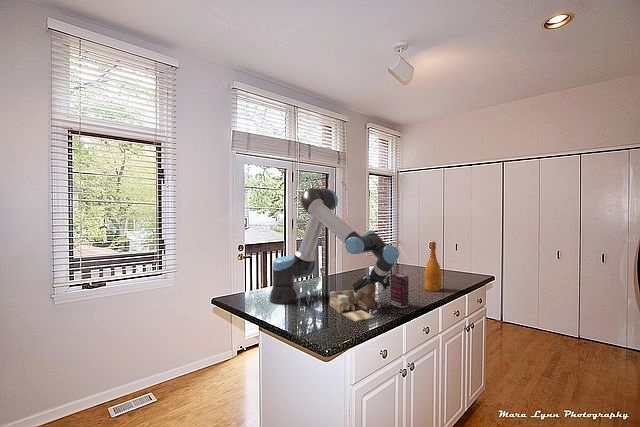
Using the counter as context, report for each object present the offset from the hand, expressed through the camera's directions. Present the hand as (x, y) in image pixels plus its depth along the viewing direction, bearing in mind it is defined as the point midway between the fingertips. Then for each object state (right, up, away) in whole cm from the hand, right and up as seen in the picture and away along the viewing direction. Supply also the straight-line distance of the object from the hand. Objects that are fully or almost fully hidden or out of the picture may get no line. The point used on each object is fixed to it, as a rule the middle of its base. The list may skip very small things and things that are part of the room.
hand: (366, 293), depth 178 cm
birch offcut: (-13, -6, -6) cm, 15 cm away
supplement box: (+17, -6, -1) cm, 18 cm away
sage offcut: (-13, -3, -6) cm, 14 cm away
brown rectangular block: (0, -6, -2) cm, 6 cm away
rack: (-5, -6, -4) cm, 9 cm away
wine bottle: (+46, -6, +33) cm, 57 cm away
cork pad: (-6, -6, -18) cm, 20 cm away
